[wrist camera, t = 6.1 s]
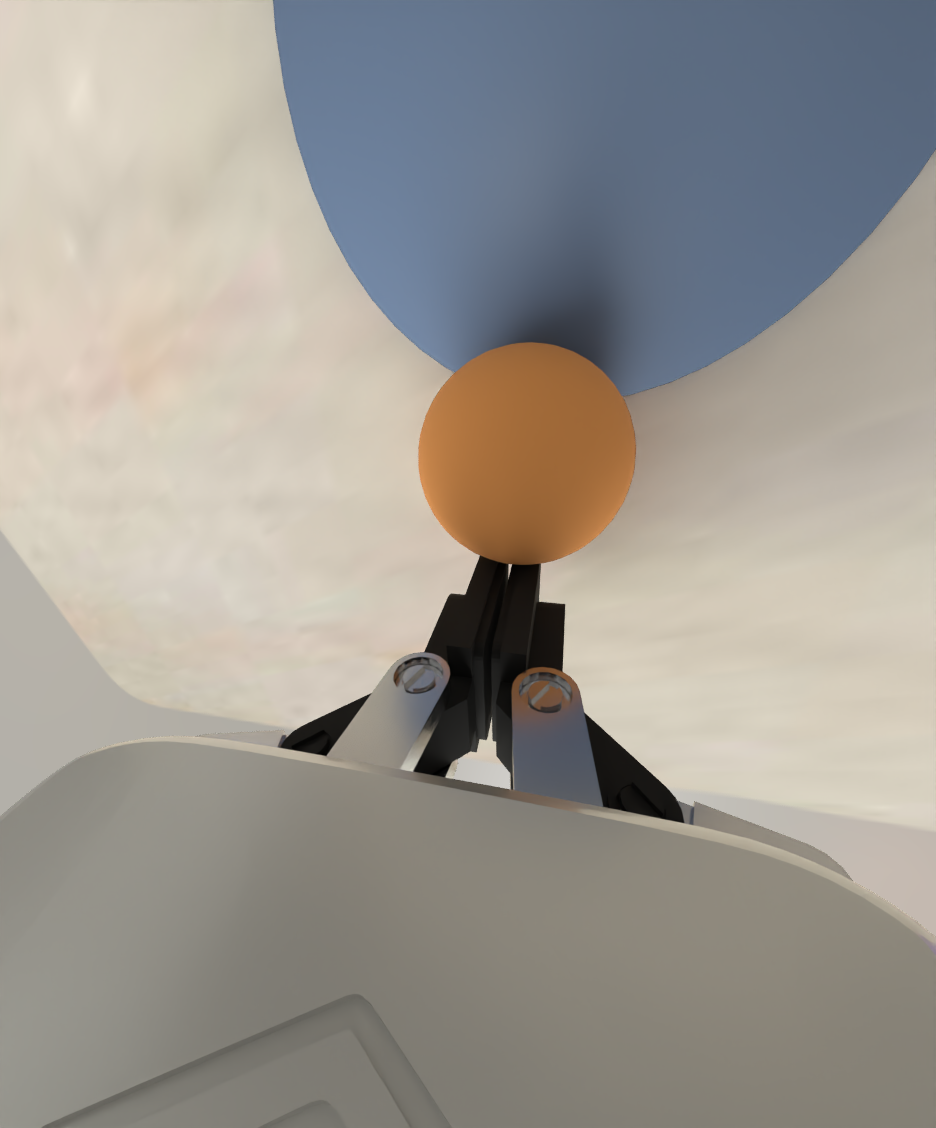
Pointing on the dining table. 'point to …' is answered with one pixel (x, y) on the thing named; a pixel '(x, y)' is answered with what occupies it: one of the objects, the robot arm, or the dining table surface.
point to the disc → (605, 162)
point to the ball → (527, 453)
